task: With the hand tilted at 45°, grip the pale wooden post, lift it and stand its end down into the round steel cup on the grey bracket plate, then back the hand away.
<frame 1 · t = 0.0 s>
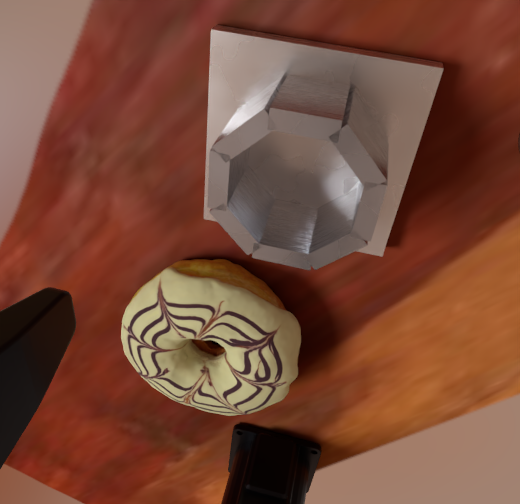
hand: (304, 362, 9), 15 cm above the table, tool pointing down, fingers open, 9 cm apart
decorated donut: (221, 317, 31), on the table
cup bracket: (308, 147, 22), on the table
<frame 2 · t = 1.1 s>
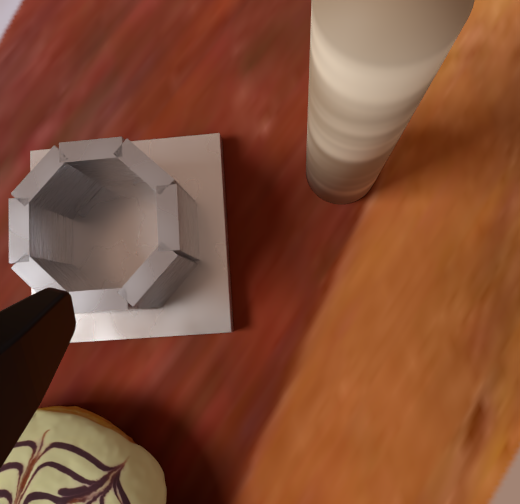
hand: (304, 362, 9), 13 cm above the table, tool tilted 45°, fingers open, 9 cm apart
wooden post: (340, 170, 23), on the table
cup bracket: (132, 240, 23), on the table
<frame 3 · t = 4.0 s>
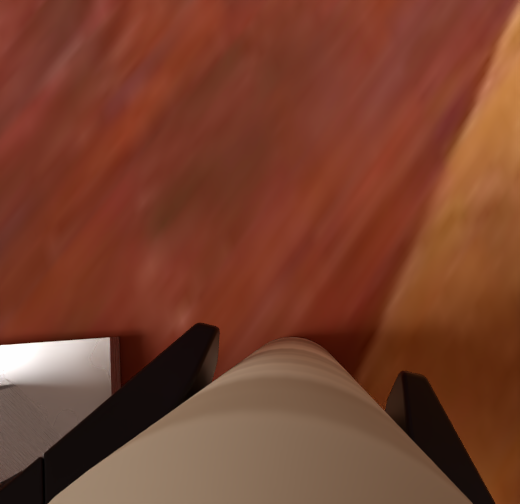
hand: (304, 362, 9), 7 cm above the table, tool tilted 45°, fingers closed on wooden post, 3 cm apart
wooden post: (292, 389, 15), on the table, touching gripper
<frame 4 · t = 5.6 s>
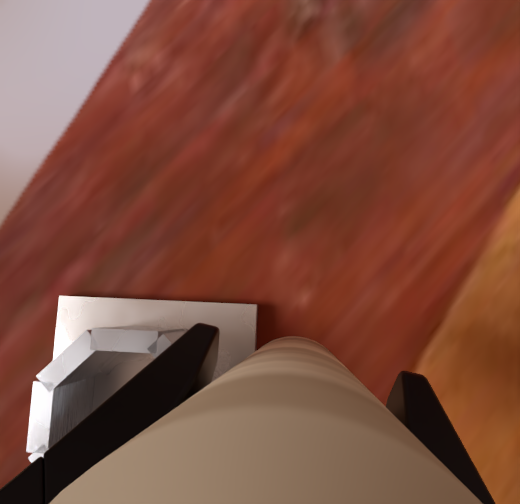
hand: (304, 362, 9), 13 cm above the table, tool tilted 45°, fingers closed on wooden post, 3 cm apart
wooden post: (293, 388, 15), point 7 cm above the table, touching gripper
cup bracket: (154, 400, 22), on the table
when the fingers open (9 cm above the table, at t = 7.4 s): wooden post drops 1 cm, resting on cup bracket.
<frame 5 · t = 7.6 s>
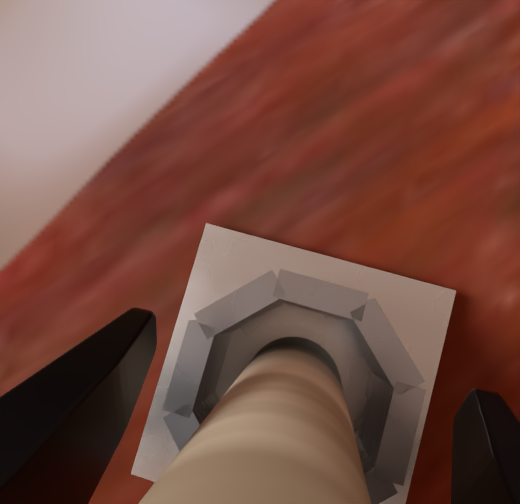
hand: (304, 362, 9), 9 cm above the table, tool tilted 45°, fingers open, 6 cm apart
wooden post: (292, 384, 17), point 1 cm above the table, tilted 5°, touching cup bracket
cup bracket: (293, 379, 18), on the table
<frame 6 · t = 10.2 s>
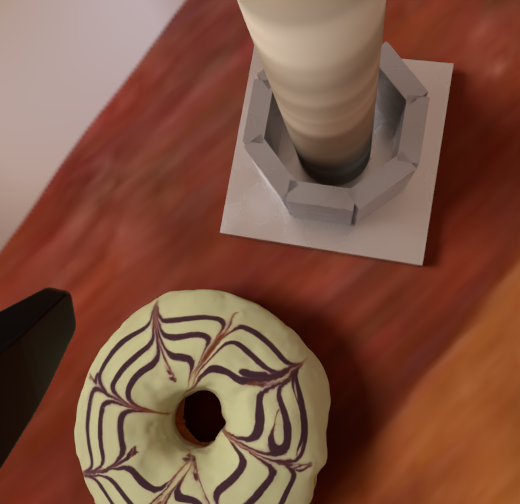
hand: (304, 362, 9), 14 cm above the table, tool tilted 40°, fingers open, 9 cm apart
decorated donut: (215, 407, 23), on the table
wooden post: (334, 150, 22), point 1 cm above the table, touching cup bracket
cup bracket: (334, 155, 23), on the table
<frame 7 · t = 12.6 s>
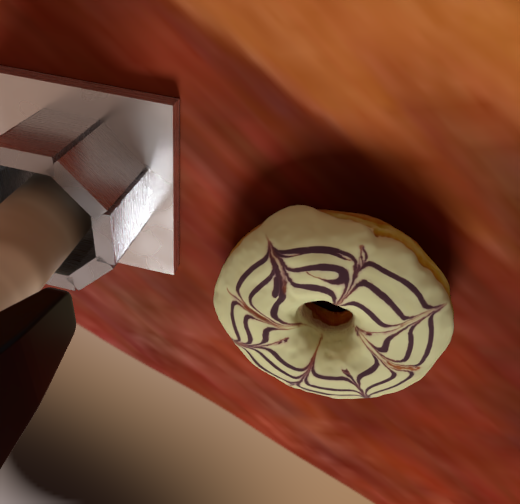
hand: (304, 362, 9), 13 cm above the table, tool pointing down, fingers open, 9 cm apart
decorated donut: (334, 279, 25), on the table
wooden post: (81, 182, 23), point 1 cm above the table, touching cup bracket
cup bracket: (89, 173, 24), on the table
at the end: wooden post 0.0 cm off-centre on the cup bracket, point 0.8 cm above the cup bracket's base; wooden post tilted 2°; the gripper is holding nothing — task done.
